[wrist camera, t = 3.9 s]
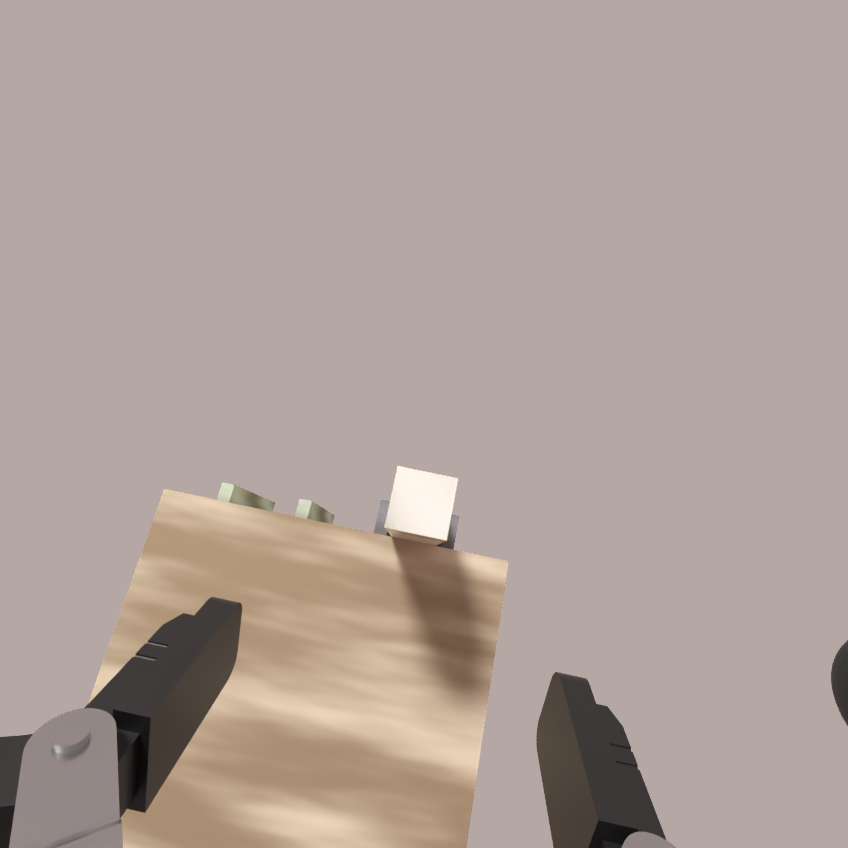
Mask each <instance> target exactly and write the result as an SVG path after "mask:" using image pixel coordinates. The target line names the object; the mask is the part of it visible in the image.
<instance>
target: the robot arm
mask: <svg viewBox="0 0 848 848" xmlns="http://www.w3.org/2000/svg"><path fill="white" fill-rule="evenodd" d="M241 616H242V604H241V603H239V602H235V601H230V600H225V599H221V598H216V597H211V598H209V599H208V600H207V601H206V602H205V604H204V605H203V606H202V607H201V608H200V609H199V610H198V612H197V613H196V614H195V615H190V614H185V613H183V614H181V615H179V616H177V617H176V618H174V619H172V620H170V621H168V622H167V623H165V624H163V625H162V626H161V627H160V628H159V629H158V630H157V631H156V632H155V633H154V635H153V636H152V637H151V638H150V639H149V640H148V642H147V644H146V643H145V644H144V645H143V646H142V647H141V648H140V649H139V651H138V652H137V653H136V655H135V657H132V658H131V659H130V660H129V661H128V662H127V663H126V664H125V665H124V667H123V668H122V669H121V670H120V671H119V672H118V673H117V674H116V675H115V676H114V677H113V678H112V679H111V680H110V681H109V682H108V684H107V685H106V686H105V687H104V688H103V689H102V690H101V691H100V692H99V693H98V694H97V695H96V696H95V697H94V698H93V700H92V701H91V702H90V703H89V704H88V705H87V706H86V707H85V708H84V709H78V710H73V711H70V712H66V713H64V714H61V715H59V716H57V717H55V718H53V719H51V720H50V721H48V722H47V723H45V724H44V725H43V726H41V727H40V728H39V729H38V730H37V731H36V732H35V733H34V734H30V735H23V736H10V737H0V848H123V832H122V820H121V819H120V818H121V817H122V815H123V814H124V812H125V811H126V809H130V810H134V811H139V812H143V813H145V812H146V811H147V809H148V808H149V806H150V804H151V803H152V801H153V800H154V798H155V796H156V795H157V793H158V792H159V790H160V788H161V787H162V785H163V784H164V782H165V780H166V779H167V777H168V776H169V774H170V772H171V771H172V769H173V768H174V766H175V764H176V763H177V761H178V760H179V758H180V756H181V755H182V753H183V752H184V750H185V748H186V747H187V745H188V744H189V742H190V740H191V739H192V737H193V736H194V734H195V732H196V731H197V729H198V728H199V726H200V724H201V723H202V721H203V720H204V718H205V716H206V715H207V713H208V712H209V710H210V708H211V707H212V705H213V704H214V702H215V700H216V699H217V697H218V696H219V694H220V692H221V691H222V689H223V688H224V686H225V684H226V683H227V681H228V679H229V677H230V675H231V673H232V671H233V668H234V665H235V662H236V658H237V653H238V644H239V635H240V626H241ZM831 683H832V690H833V694H834V697H835V701H836V704H837V706H838V708H839V711H840V713H841V715H842V717H843V719H844V720H845V722H846V724H847V725H848V641H847V642H846V643H845V644H844V645H843V646H842V647H841V648H840V650H839V651H838V653H837V655H836V657H835V659H834V662H833V665H832V672H831ZM537 752H538V758H539V764H540V770H541V776H542V782H543V787H544V793H545V799H546V805H547V811H548V816H549V823H550V828H551V835H552V840H553V846H554V848H676V847H674V846H673V845H672V844H671V843H669V842H668V841H666V838H665V835H664V833H663V830H662V828H661V825H660V822H659V820H658V817H657V815H656V812H655V809H654V807H653V804H652V801H651V799H650V796H649V794H648V791H647V788H646V786H645V783H644V781H643V778H642V775H641V773H640V771H639V770H638V768H637V762H636V760H635V757H634V755H633V752H631V747H630V744H629V742H628V739H627V737H626V734H625V731H624V728H623V726H622V725H621V724H620V722H619V721H618V720H617V718H616V717H615V716H614V715H613V713H612V712H611V711H610V709H609V708H608V707H607V706H603V705H598V704H596V702H595V700H594V696H593V693H592V690H591V688H590V685H589V682H588V680H587V679H585V678H581V677H577V676H572V675H567V674H562V673H558V672H555V673H554V675H553V676H552V679H551V682H550V685H549V689H548V692H547V696H546V699H545V702H544V705H543V708H542V712H541V715H540V718H539V722H538V728H537Z"/></svg>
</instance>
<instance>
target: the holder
mask: <svg viewBox="0 0 848 848" xmlns="http://www.w3.org/2000/svg"><path fill="white" fill-rule="evenodd" d="M389 503H390V502H389V501H384V500H381V503H380V508H379V512H378V517H377V522H376V526H375V530H374V533H371V532H366V531H362V530H357V529H352V528H347V527H343V526H338V525H333V524H332V523H333V519H334V515H333V514H332V513H330V512H328V511H327V510H325V509H324V508H322V507H320V506H319V505H317V504H315V503H314V502H312V501H308V500H304V499H300V500H299V504H298V507H297V511H296V515H295V516H291V515H286V514H281V513H276V512H273V508H274V504H275V503H274V502H272V501H270V500H268V499H265V498H263V497H261V496H258V495H256V494H254V493H252V492H249V491H247V490H245V489H242V488H240V487H238V486H236V485H232V484H227V483H222V486H221V489H220V492H219V495H218V498H217V500H214V499H210V498H205V497H200V496H196V495H191V494H186V493H181V492H176V491H172V490H167V489H164V491H163V494H162V497H161V500H160V503H159V505H158V508H157V511H156V514H155V517H154V520H153V522H152V525H151V528H150V531H149V534H148V537H147V540H146V542H145V545H144V548H143V551H142V553H141V556H140V559H139V562H138V565H137V568H136V570H135V573H134V576H133V579H132V582H131V584H130V587H129V591H128V593H127V596H126V599H125V601H124V604H123V607H122V610H121V613H120V615H119V619H118V621H117V624H116V627H115V630H114V632H113V635H112V638H111V641H110V644H109V647H108V649H107V652H106V655H105V658H104V661H103V663H102V666H101V669H100V672H99V675H98V678H97V680H96V683H95V686H94V689H93V692H92V695H91V697H90V700H89V703H90V702H91V701H92V700H93V698H94V697H95V696H96V695H97V694H98V693H99V692H100V691H101V690H102V689H103V688H104V687H105V686H106V685H107V684H108V682H109V681H110V680H111V679H112V678H113V677H114V676H115V675H116V674H117V673H118V672H119V671H120V670H121V669H122V668H123V667H124V665H125V664H126V663H127V662H128V661H129V660H130V659H131V658H132V657H135V655H136V653H137V652H138V651H139V649H140V648H141V647H142V646H143V645H144V644H145V643H146V644H147V642H148V640H149V639H150V638H151V637H152V636H153V635H154V633H155V632H156V631H157V630H158V629H159V628H160V627H161V626H162V625H163V624H165V623H167V622H168V621H170V620H172V619H174V618H176V617H177V616H179V615H181V614H183V613H185V614H190V615H195V614H196V613H197V612H198V610H199V609H200V608H201V607H202V606H203V605H204V604H205V602H206V601H207V600H208V599H209V598H211V597H216V598H221V599H225V600H230V601H235V602H239V603H241V604H242V616H241V626H240V635H239V644H238V653H237V658H236V662H235V665H234V668H233V671H232V673H231V675H230V677H229V679H228V681H227V683H226V684H225V686H224V688H223V689H222V691H221V692H220V694H219V696H218V697H217V699H216V700H215V702H214V704H213V705H212V707H211V708H210V710H209V712H208V713H207V715H206V716H205V718H204V720H203V721H202V723H201V724H200V726H199V728H198V729H197V731H196V732H195V734H194V736H193V737H192V739H191V740H190V742H189V744H188V745H187V747H186V748H185V750H184V752H183V753H182V755H181V756H180V758H179V760H178V761H177V763H176V764H175V766H174V768H173V769H172V771H171V772H170V774H169V776H168V777H167V779H166V780H165V782H164V784H163V785H162V787H161V788H160V790H159V792H158V793H157V795H156V796H155V798H154V800H153V801H152V803H151V804H150V806H149V808H148V809H147V811H146V812H145V813H143V812H139V811H134V810H130V809H126V811H125V812H124V814H123V815H122V817H121V818H120V819H121V820H122V832H123V848H466V845H467V838H468V831H469V825H470V818H471V811H472V805H473V798H474V791H475V783H476V777H477V770H478V764H479V757H480V750H481V744H482V737H483V729H484V724H485V717H486V710H487V703H488V696H489V690H490V683H491V676H492V670H493V663H494V656H495V649H496V643H497V636H498V629H499V622H500V615H501V609H502V602H503V595H504V589H505V581H506V575H507V568H508V561H504V560H499V559H494V558H490V557H485V556H481V555H476V554H471V553H466V552H462V551H457V550H453V548H454V542H455V537H456V531H457V526H458V520H459V516H456V515H451V521H450V526H449V531H448V537H447V541H445V542H442V543H441V544H439V545H437V546H433V545H428V544H424V543H419V542H414V541H409V540H405V539H400V538H395V537H391V536H390V534H389V533H388V532H387V530H386V529H385V528H384V526H385V521H386V517H387V512H388V508H389ZM89 703H88V704H89Z"/></svg>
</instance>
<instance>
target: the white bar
mask: <svg viewBox="0 0 848 848" xmlns="http://www.w3.org/2000/svg"><path fill="white" fill-rule="evenodd" d="M457 483H458V478H454V477H449V476H444V475H440V474H435V473H430V472H425V471H420V470H416V469H411V468H406V467H401V466H398V467H397V471H396V476H395V481H394V485H393V490H392V494H391V499H390V503H389V508H388V512H387V517H386V521H385V526H384V528H385V529H386V530H387V532H388V533H389V534H390V536H391V537H395V538H400V539H405V540H409V541H414V542H419V543H424V544H428V545H433V546H437V545H439V544H441V543H442V542H445V541H447V537H448V531H449V526H450V521H451V515H452V509H453V504H454V499H455V493H456V488H457Z"/></svg>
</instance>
